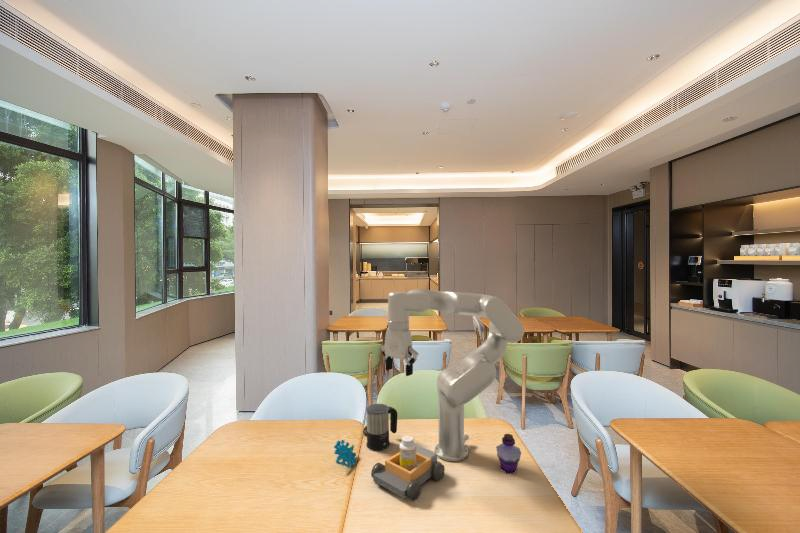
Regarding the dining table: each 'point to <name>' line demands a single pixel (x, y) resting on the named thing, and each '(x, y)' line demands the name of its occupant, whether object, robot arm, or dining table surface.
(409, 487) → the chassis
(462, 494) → the dining table surface
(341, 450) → the gear
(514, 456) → the potion bottle
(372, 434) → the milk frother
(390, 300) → the robot arm
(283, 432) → the dining table surface
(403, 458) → the supplement bottle
